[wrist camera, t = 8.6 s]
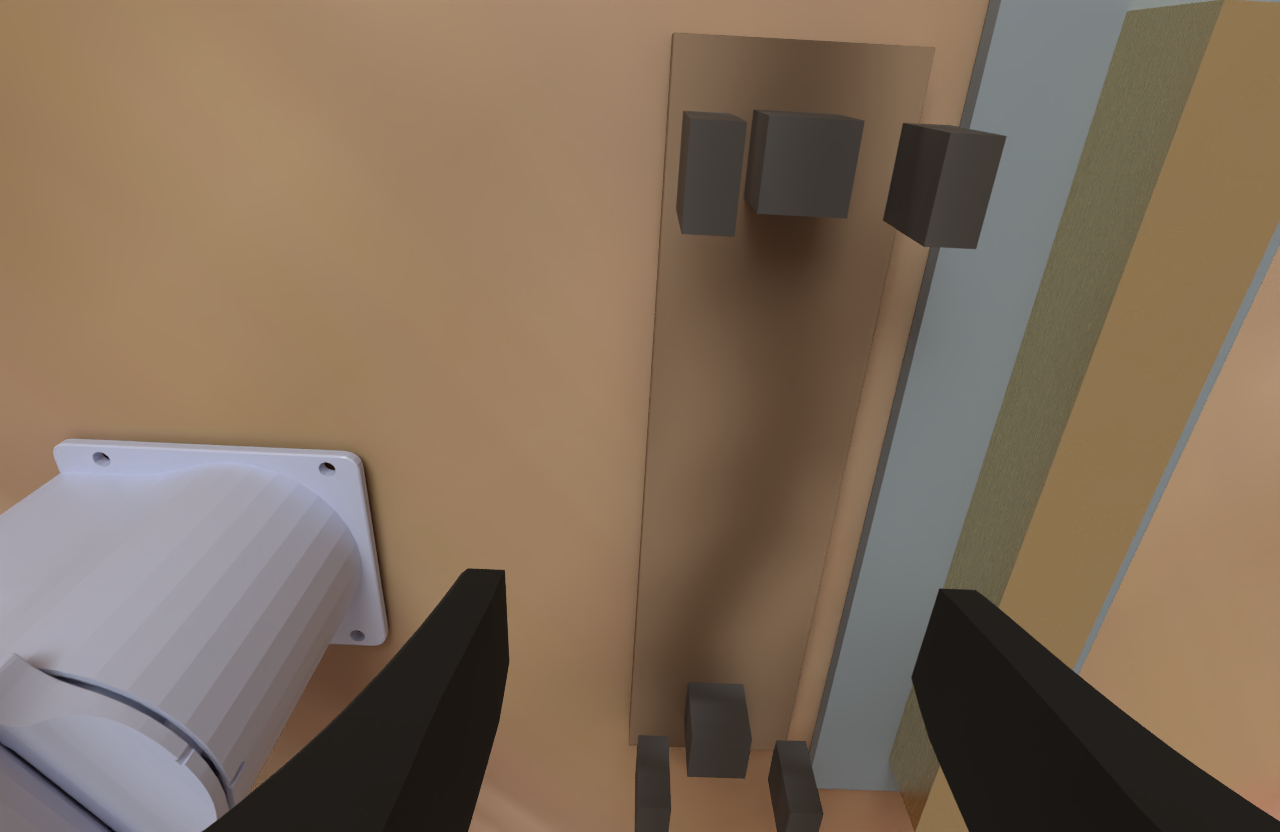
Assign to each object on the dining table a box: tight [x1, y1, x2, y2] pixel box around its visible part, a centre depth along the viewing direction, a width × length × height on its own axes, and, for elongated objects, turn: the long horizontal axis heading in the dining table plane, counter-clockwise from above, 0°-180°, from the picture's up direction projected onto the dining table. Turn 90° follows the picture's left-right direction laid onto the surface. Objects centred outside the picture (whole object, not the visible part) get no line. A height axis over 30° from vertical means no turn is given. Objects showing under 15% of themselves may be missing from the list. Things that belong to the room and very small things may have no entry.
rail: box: [889, 0, 1280, 832], centre depth 20 cm, size 3×26×3 cm, turn 177°
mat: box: [809, 0, 1280, 791], centre depth 22 cm, size 9×30×1 cm, turn 177°
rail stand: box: [629, 33, 1007, 832], centre depth 20 cm, size 6×24×6 cm, turn 177°
